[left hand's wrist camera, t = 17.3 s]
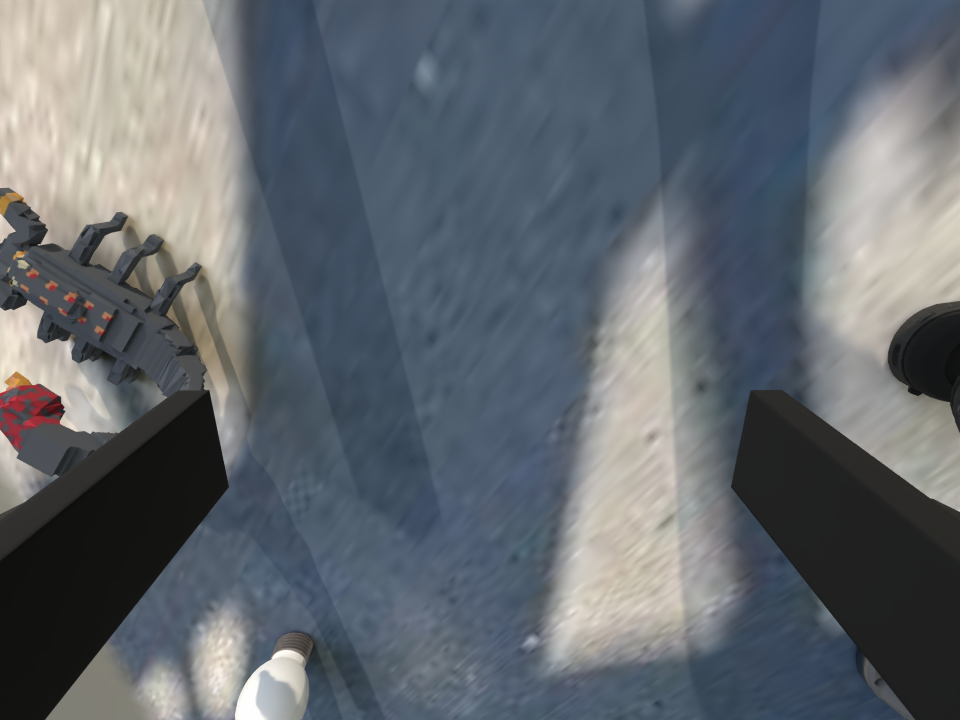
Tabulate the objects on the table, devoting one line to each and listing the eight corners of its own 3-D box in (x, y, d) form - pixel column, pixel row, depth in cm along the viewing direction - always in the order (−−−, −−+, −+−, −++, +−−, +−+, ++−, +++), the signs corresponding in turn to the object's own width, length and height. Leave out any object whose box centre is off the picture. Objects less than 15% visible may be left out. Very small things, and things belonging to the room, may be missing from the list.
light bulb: (306, 615, 57) (268, 713, 47) (335, 656, 59) (304, 758, 49) (254, 632, 58) (205, 733, 48) (284, 672, 60) (244, 776, 50)
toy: (221, 433, 49) (83, 576, 32) (-61, 262, 43) (-416, 323, 26) (293, 328, 45) (180, 426, 28) (-5, 126, 40) (-375, 93, 22)
